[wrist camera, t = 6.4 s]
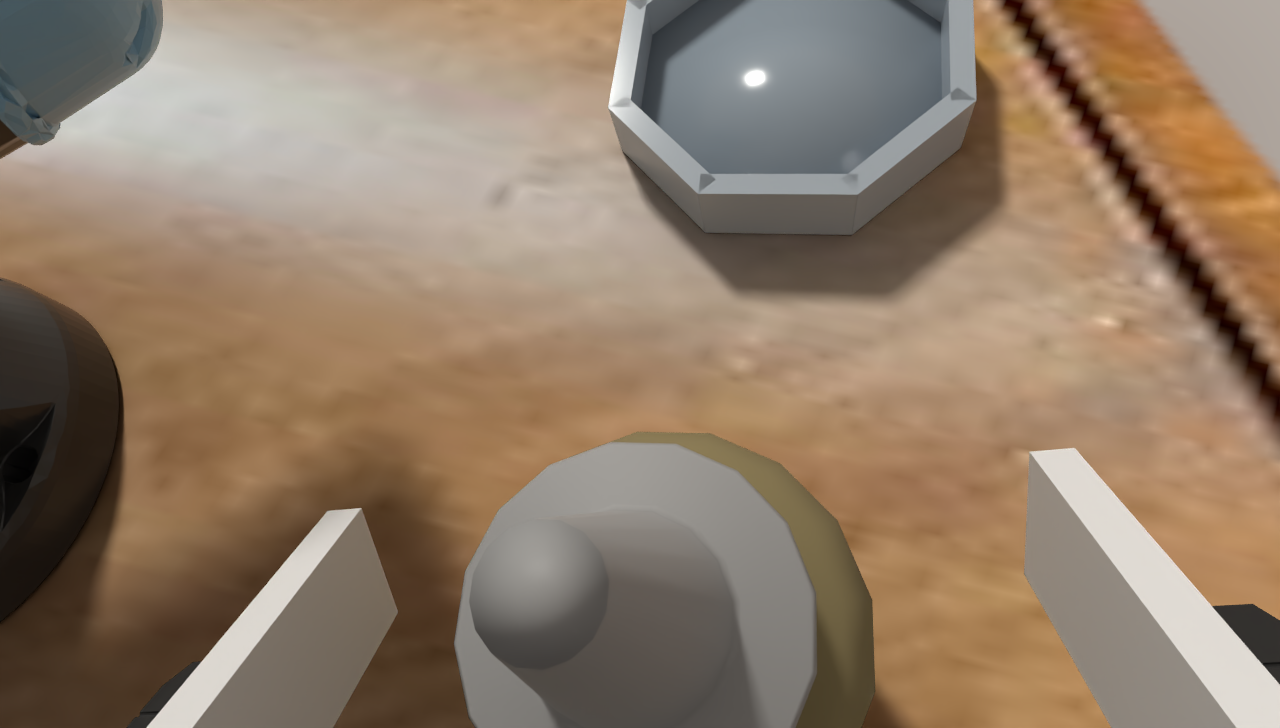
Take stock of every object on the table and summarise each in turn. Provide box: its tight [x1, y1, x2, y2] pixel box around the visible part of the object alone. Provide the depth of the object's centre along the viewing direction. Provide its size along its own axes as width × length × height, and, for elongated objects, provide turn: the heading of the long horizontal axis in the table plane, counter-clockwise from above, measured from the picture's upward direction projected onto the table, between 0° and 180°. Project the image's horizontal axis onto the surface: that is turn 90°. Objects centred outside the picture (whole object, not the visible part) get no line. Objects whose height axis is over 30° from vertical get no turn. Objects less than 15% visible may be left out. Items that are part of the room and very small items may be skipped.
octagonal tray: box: [608, 0, 977, 235], centre depth 28 cm, size 13×13×2 cm
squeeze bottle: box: [454, 432, 875, 728], centre depth 14 cm, size 8×8×18 cm
